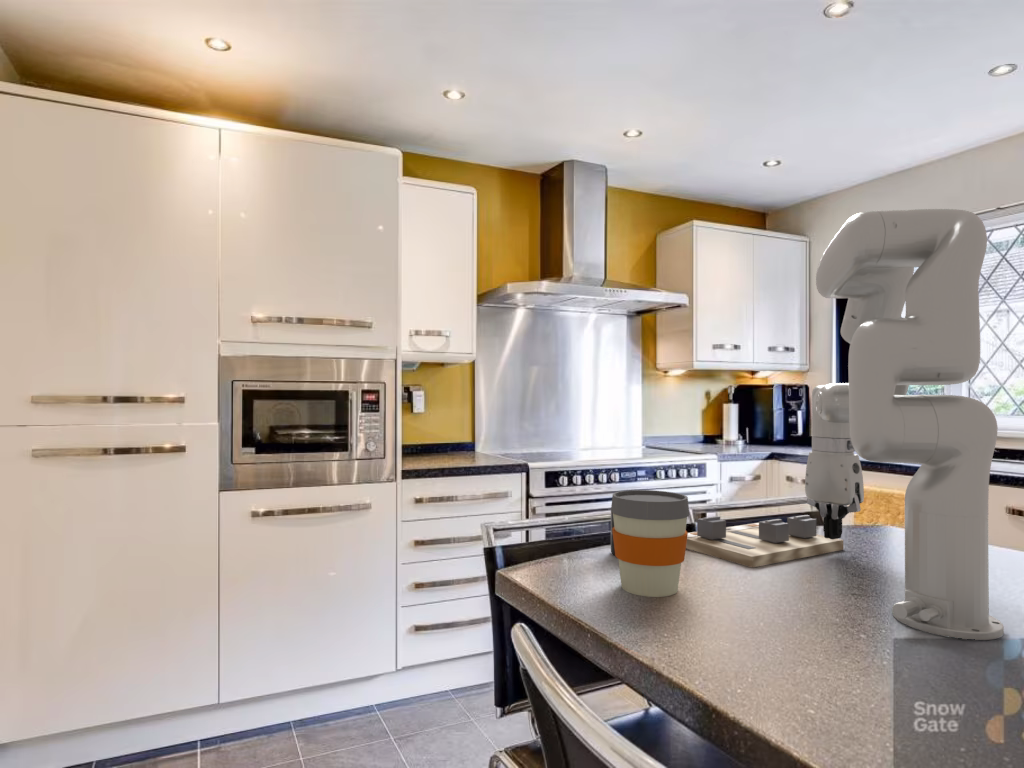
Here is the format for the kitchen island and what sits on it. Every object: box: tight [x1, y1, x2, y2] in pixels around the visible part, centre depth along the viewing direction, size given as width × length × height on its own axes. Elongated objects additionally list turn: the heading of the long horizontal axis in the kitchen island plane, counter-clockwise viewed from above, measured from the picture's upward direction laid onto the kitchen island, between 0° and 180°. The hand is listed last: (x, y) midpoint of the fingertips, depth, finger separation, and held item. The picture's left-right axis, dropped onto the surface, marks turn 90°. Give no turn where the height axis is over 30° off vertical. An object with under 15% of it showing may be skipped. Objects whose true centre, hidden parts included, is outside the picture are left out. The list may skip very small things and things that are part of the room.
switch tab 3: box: [786, 514, 817, 538], centre depth 130 cm, size 4×4×4 cm
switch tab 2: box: [758, 518, 789, 543], centre depth 126 cm, size 4×4×4 cm
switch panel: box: [686, 522, 844, 569], centre depth 129 cm, size 28×20×2 cm
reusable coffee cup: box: [610, 489, 690, 598], centre depth 101 cm, size 12×13×15 cm
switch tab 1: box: [696, 515, 727, 540], centre depth 128 cm, size 4×4×4 cm
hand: (832, 537), depth 124 cm, fingers closed
